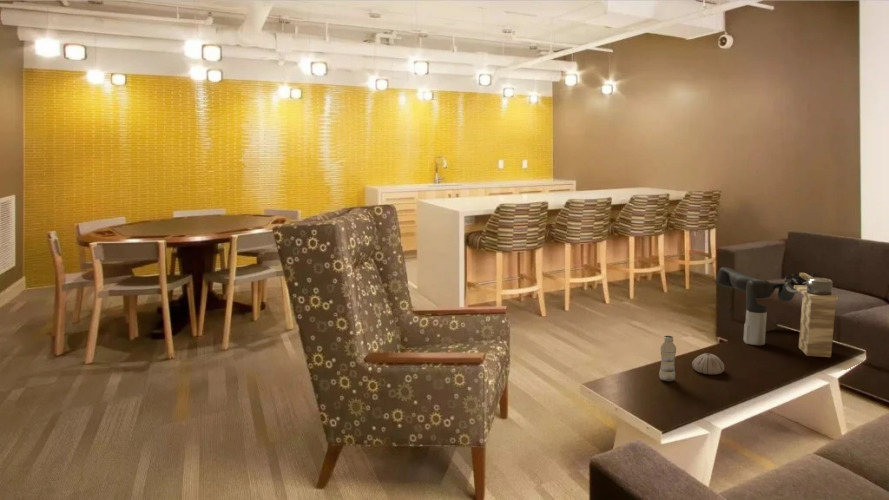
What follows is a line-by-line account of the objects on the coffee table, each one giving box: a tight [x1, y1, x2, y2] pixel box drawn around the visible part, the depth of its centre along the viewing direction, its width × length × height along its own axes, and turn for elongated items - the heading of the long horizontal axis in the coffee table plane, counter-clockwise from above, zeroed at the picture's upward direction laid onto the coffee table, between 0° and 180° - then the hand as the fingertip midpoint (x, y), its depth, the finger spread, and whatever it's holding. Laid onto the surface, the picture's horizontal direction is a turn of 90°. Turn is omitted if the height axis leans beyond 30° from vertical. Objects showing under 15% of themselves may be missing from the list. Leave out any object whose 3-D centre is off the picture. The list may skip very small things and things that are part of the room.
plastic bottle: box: [658, 335, 677, 382], centre depth 238 cm, size 6×7×20 cm
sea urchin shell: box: [691, 352, 725, 376], centre depth 248 cm, size 13×14×8 cm
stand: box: [794, 284, 839, 358], centre depth 269 cm, size 22×12×30 cm, turn 164°
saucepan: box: [798, 272, 833, 295], centre depth 271 cm, size 29×10×7 cm, turn 164°
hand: (805, 274), depth 280 cm, fingers open, 7 cm apart
